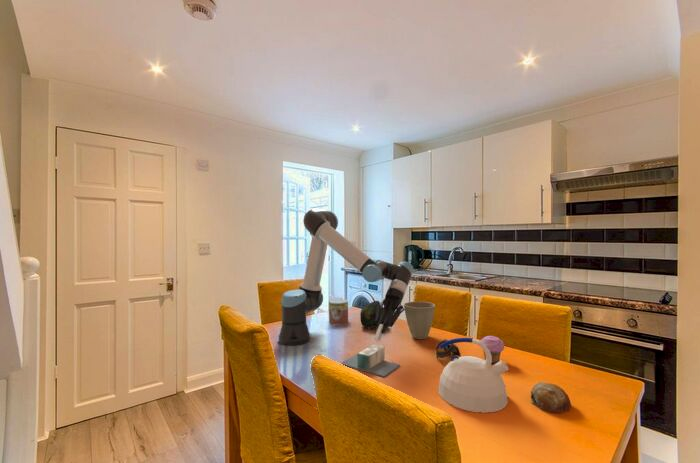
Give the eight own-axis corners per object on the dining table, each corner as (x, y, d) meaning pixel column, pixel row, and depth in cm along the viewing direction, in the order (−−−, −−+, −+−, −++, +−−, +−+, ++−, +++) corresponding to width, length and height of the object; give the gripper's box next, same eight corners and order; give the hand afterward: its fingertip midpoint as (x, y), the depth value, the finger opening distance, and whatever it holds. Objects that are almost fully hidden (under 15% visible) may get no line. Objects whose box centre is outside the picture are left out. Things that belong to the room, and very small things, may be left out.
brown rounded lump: (529, 408, 100) (518, 385, 99) (557, 392, 100) (546, 369, 100) (552, 427, 90) (540, 402, 89) (582, 409, 91) (570, 384, 90)
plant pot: (441, 337, 155) (441, 305, 155) (420, 344, 147) (419, 309, 147) (419, 330, 168) (418, 299, 168) (398, 335, 159) (397, 303, 159)
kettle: (504, 421, 87) (503, 355, 87) (429, 401, 98) (428, 342, 98) (512, 390, 104) (511, 334, 104) (447, 375, 115) (447, 325, 115)
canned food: (326, 324, 182) (326, 303, 182) (331, 318, 193) (331, 298, 193) (346, 324, 180) (346, 303, 180) (349, 319, 191) (349, 299, 191)
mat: (340, 364, 126) (340, 363, 126) (357, 354, 136) (357, 353, 136) (384, 377, 114) (384, 376, 114) (400, 365, 124) (400, 364, 124)
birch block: (374, 356, 132) (357, 366, 122) (374, 344, 132) (357, 353, 122) (384, 359, 129) (368, 369, 119) (384, 346, 129) (368, 356, 119)
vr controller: (466, 364, 126) (457, 347, 124) (444, 373, 127) (435, 357, 125) (457, 345, 137) (449, 330, 136) (437, 354, 139) (429, 339, 137)
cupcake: (480, 364, 124) (480, 338, 124) (479, 356, 132) (479, 331, 132) (505, 367, 121) (505, 340, 121) (503, 358, 129) (503, 334, 129)
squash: (350, 316, 177) (364, 298, 170) (368, 312, 188) (381, 295, 181) (365, 337, 169) (380, 319, 163) (382, 332, 180) (397, 315, 174)
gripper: (380, 285, 144) (359, 332, 131) (406, 288, 137) (387, 338, 123) (386, 295, 149) (367, 341, 135) (412, 298, 141) (394, 347, 127)
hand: (377, 339), depth 129 cm, fingers closed
